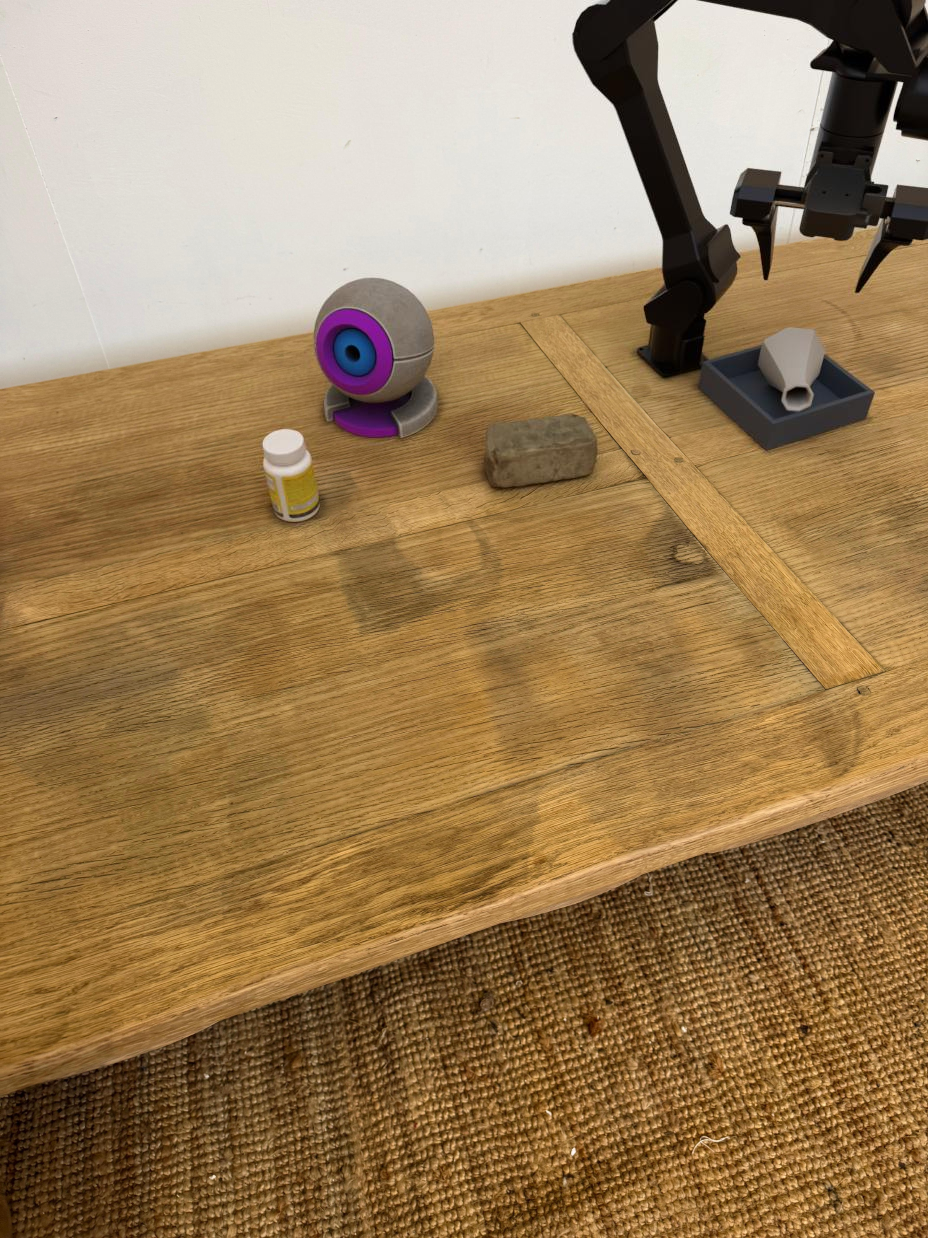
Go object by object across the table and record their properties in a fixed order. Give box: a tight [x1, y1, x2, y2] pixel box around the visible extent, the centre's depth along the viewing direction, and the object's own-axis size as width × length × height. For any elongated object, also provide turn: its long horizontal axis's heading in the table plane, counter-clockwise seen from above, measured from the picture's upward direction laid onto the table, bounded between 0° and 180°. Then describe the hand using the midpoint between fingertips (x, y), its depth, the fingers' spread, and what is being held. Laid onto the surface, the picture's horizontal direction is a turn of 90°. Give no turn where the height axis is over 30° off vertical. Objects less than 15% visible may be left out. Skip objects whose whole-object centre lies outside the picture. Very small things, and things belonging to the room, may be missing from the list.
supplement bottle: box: [262, 428, 321, 523], centre depth 93 cm, size 5×5×8 cm
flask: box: [758, 326, 826, 411], centre depth 102 cm, size 7×7×10 cm
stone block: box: [482, 413, 598, 488], centre depth 97 cm, size 6×12×5 cm, turn 102°
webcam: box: [313, 277, 439, 439], centre depth 102 cm, size 13×13×15 cm
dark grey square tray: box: [697, 344, 876, 452], centre depth 105 cm, size 13×13×4 cm
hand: (810, 284), depth 98 cm, fingers open, 9 cm apart
